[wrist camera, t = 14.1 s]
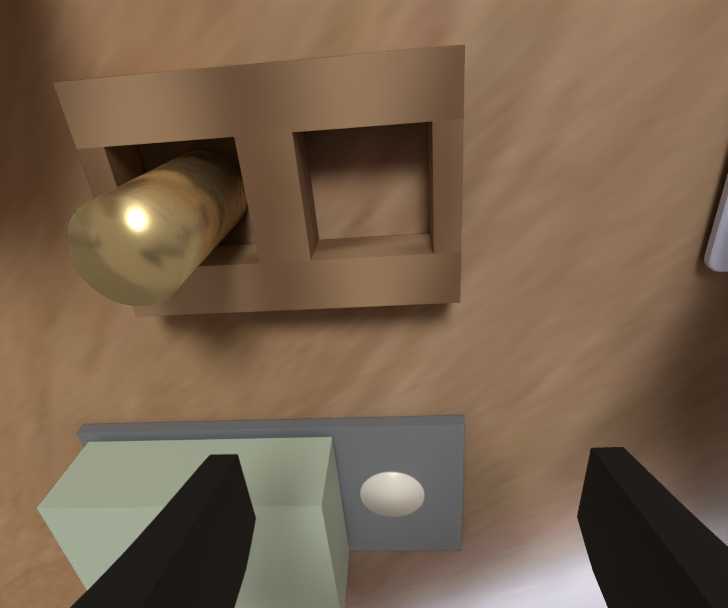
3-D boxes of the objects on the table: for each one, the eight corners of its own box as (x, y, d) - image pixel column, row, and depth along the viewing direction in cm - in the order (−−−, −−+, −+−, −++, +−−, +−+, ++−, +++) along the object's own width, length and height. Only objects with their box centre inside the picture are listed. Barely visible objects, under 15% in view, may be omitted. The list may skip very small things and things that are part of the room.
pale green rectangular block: (332, 436, 21) (321, 505, 18) (349, 552, 25) (343, 625, 22) (88, 441, 22) (37, 508, 19) (141, 552, 26) (106, 622, 23)
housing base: (463, 415, 22) (473, 469, 19) (460, 540, 26) (468, 600, 23) (83, 424, 23) (41, 475, 20) (139, 540, 27) (110, 597, 25)
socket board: (456, 45, 15) (464, 45, 13) (453, 278, 18) (459, 302, 17) (91, 78, 16) (52, 82, 14) (159, 292, 19) (136, 316, 18)
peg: (239, 147, 16) (166, 193, 11) (254, 229, 18) (196, 304, 13) (157, 152, 17) (48, 199, 11) (178, 232, 18) (90, 308, 13)
